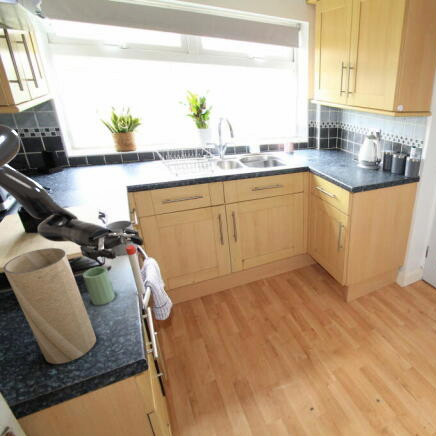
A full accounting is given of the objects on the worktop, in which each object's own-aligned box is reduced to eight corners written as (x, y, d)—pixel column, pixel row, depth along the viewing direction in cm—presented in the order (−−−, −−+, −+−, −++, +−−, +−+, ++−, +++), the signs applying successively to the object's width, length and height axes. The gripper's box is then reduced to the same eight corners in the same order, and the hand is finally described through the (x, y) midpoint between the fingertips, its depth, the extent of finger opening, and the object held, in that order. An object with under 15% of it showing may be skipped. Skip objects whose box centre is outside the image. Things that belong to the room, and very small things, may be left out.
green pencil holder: (97, 307, 90) (88, 280, 86) (88, 300, 93) (79, 273, 89) (118, 297, 95) (110, 270, 91) (109, 290, 98) (101, 264, 94)
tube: (72, 329, 83) (39, 245, 72) (105, 335, 81) (77, 251, 71) (33, 359, 74) (-11, 269, 63) (70, 367, 73) (32, 276, 62)
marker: (140, 295, 96) (128, 249, 89) (136, 292, 97) (124, 247, 90) (147, 292, 98) (136, 246, 91) (143, 289, 99) (132, 244, 92)
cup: (138, 251, 118) (132, 227, 114) (112, 257, 114) (105, 232, 110) (136, 241, 125) (131, 218, 121) (112, 246, 121) (105, 223, 117)
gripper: (62, 235, 89) (100, 248, 84) (111, 216, 101) (147, 227, 95) (70, 257, 92) (107, 272, 87) (117, 237, 104) (152, 248, 99)
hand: (128, 248), depth 91 cm, fingers open, 8 cm apart
